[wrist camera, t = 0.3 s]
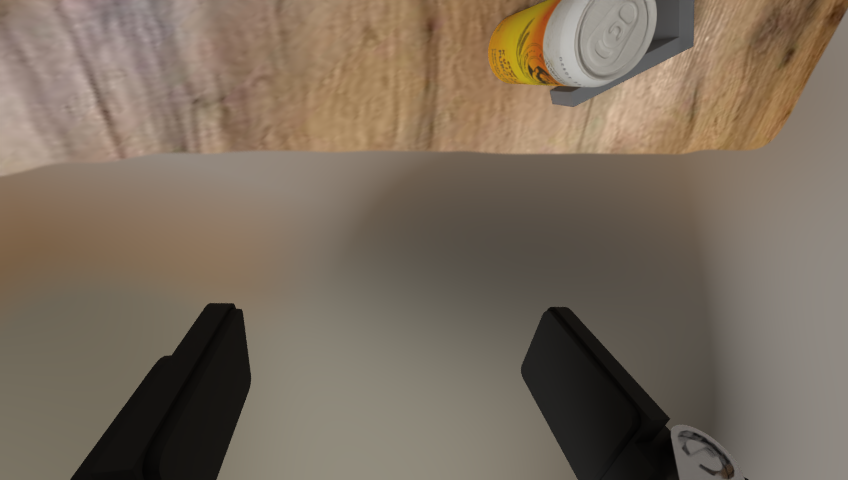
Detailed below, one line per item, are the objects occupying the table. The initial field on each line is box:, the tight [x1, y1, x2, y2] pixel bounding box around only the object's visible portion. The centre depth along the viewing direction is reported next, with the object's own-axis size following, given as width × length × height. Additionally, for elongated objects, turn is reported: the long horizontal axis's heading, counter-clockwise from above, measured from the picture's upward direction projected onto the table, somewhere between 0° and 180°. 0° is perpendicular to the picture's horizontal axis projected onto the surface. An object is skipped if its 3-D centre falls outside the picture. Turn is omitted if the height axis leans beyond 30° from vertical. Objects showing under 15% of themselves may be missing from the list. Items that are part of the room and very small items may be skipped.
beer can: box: [488, 0, 657, 87], centre depth 25 cm, size 6×6×15 cm
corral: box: [550, 0, 694, 107], centre depth 29 cm, size 13×14×4 cm
